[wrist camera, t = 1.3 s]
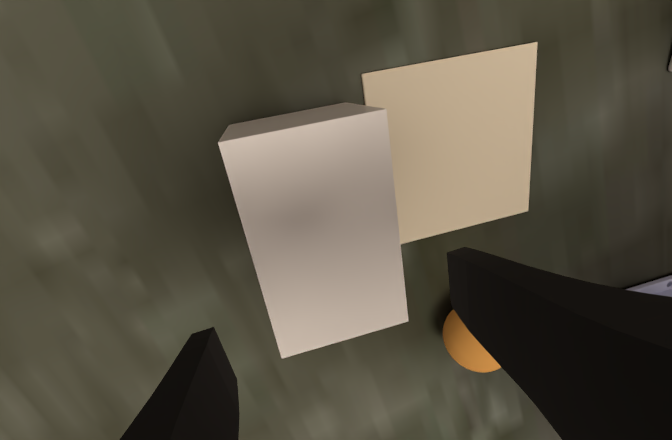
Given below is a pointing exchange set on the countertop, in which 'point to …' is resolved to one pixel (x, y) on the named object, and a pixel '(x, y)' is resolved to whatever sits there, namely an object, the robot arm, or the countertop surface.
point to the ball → (466, 346)
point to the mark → (458, 137)
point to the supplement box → (670, 65)
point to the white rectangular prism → (320, 221)
